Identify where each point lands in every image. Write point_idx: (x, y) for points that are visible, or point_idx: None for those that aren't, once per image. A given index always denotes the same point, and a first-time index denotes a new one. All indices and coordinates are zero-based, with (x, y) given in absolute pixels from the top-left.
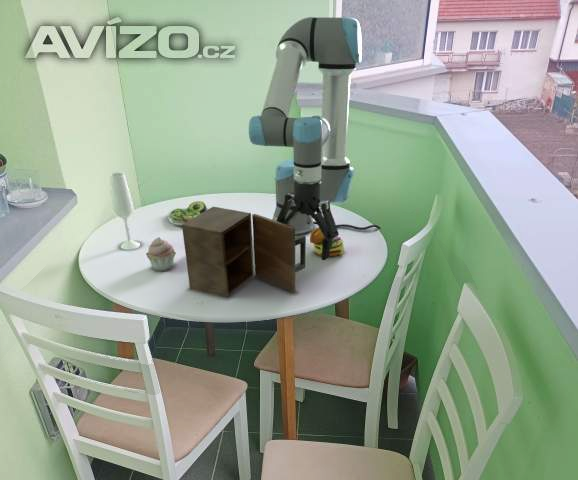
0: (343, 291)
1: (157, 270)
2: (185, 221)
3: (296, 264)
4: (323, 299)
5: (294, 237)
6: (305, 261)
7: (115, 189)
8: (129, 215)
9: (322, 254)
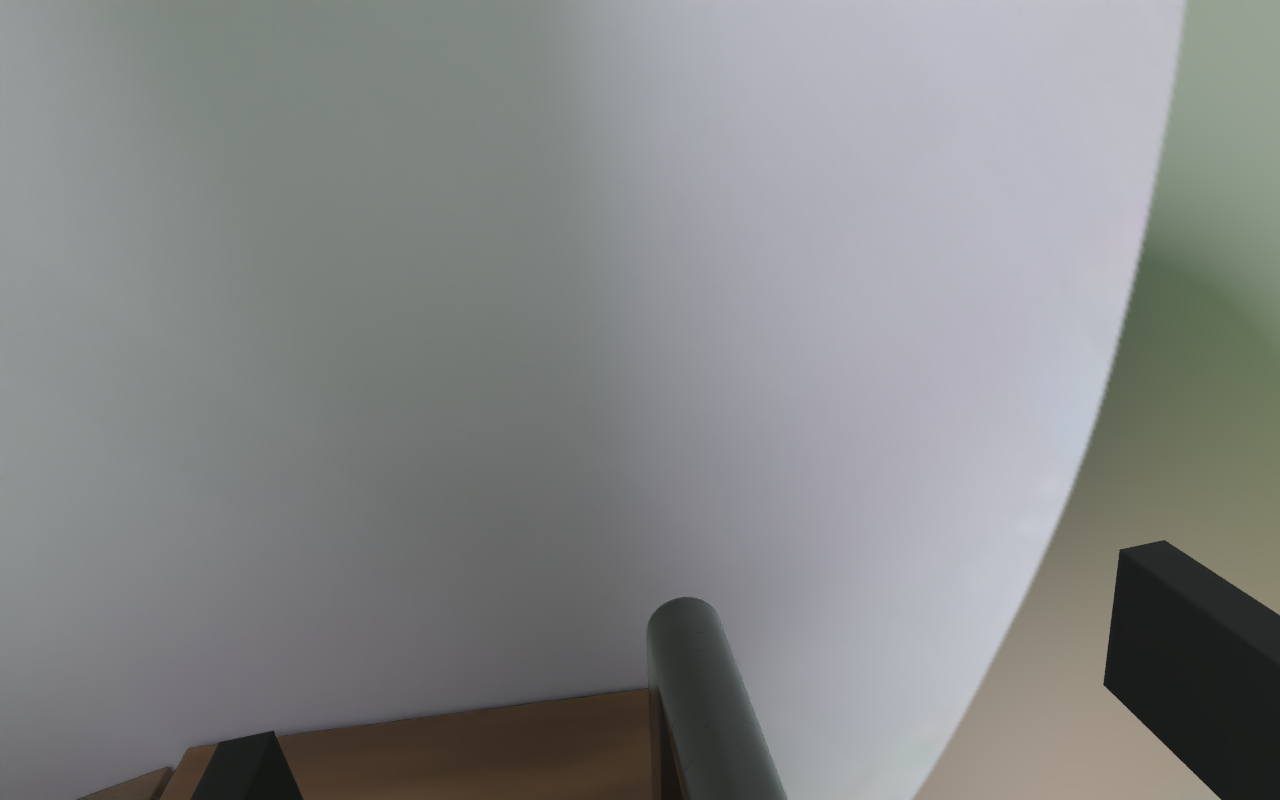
0: (1086, 341)
1: None
2: None
3: (672, 767)
4: (1006, 578)
5: None
6: (737, 672)
7: None
8: None
9: (1196, 764)
